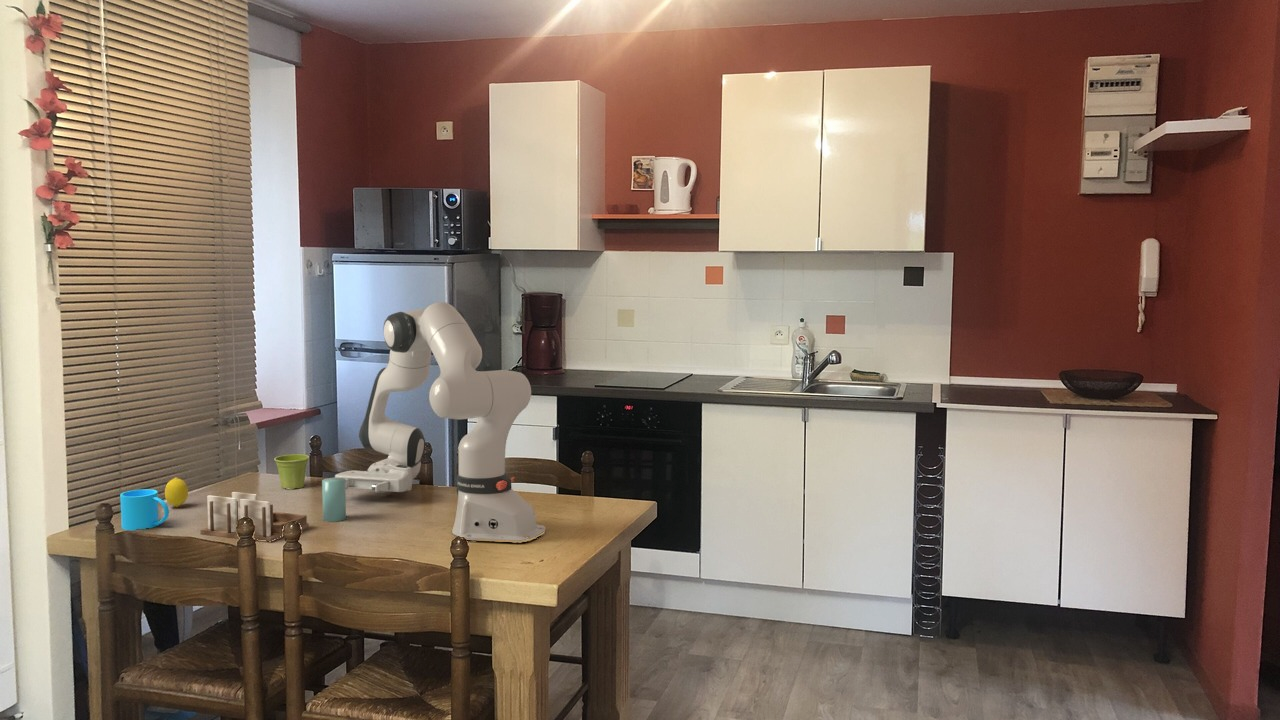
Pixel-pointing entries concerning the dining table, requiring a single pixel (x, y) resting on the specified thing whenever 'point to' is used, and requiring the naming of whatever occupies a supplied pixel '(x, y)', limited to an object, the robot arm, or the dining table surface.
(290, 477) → the plant pot
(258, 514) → the rack
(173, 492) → the lemon
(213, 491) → the dining table surface
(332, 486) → the teal glossy cylinder
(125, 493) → the mug
